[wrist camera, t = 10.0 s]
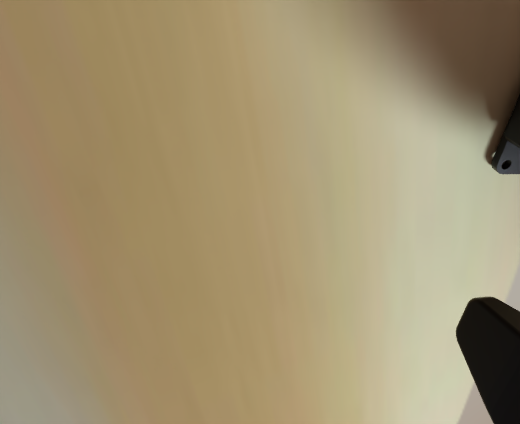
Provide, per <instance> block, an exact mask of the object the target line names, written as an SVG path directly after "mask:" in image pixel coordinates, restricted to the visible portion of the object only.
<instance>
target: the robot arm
mask: <svg viewBox="0 0 520 424" xmlns="http://www.w3.org/2000/svg"><path fill="white" fill-rule="evenodd" d="M503 162H505V163H504V164H503ZM491 165H492V168H493V169H494V170H496V171H497V172H498V173H500V174H520V95H519V97H518V100H517V102H516V105H515V107H514V109H513V112H512V114H511V117H510V119H509V122H508V124H507V126H506V129H505V131H504V134H503V136H502V138H501V141H500V143H499V146H498V148H497V151H496V153H495V155H494V158H493V160H492V164H491ZM456 337H457V341H458V344H459V346H460V348H461V351H462V353H463V355H464V358H465V360H466V362H467V365H468V367H469V369H470V372H471V374H472V376H473V379H474V381H475V383H476V385H477V388H478V390H479V392H480V395H481V397H482V399H483V402H484V404H485V406H486V409H487V411H488V413H489V415H490V417H491V419H492V421H493V423H494V424H520V312H519V311H518V310H516V309H514V308H512V307H510V306H509V305H507V304H505V303H503V302H502V301H500V300H498V299H496V298H494V297H479V298H473V299H471V300H470V301H469V302H468V304H467V306H466V308H465V311H464V313H463V315H462V317H461V319H460V321H459V323H458V326H457V328H456Z"/></svg>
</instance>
